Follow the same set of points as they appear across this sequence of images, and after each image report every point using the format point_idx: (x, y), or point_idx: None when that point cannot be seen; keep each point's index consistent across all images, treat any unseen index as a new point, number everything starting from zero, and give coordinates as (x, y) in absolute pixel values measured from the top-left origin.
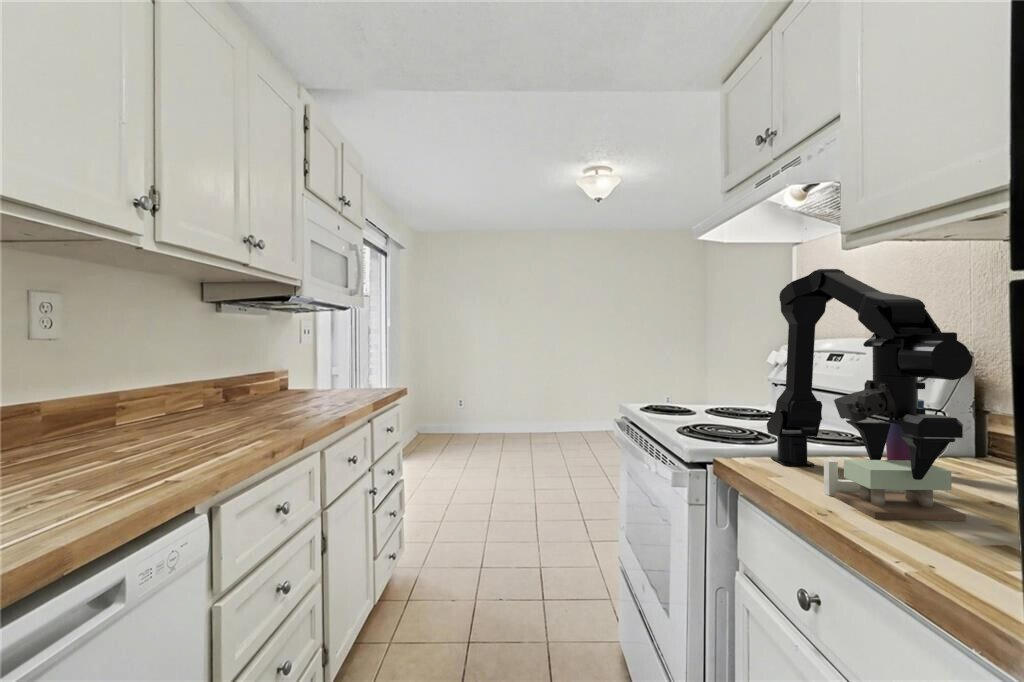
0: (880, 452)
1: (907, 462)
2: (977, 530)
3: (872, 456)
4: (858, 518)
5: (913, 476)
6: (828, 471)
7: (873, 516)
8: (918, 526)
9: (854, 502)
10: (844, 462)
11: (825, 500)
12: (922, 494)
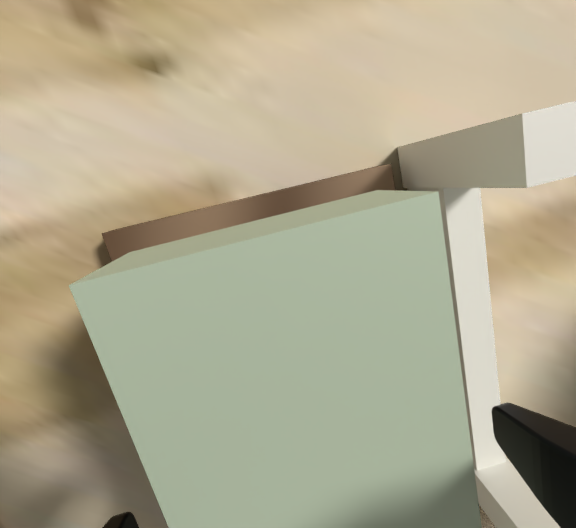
0: (569, 522)
1: None
2: (122, 509)
3: (533, 440)
4: (92, 162)
5: (113, 525)
6: (474, 127)
7: (120, 228)
8: (84, 355)
9: (242, 199)
10: (415, 193)
11: (323, 105)
12: None
